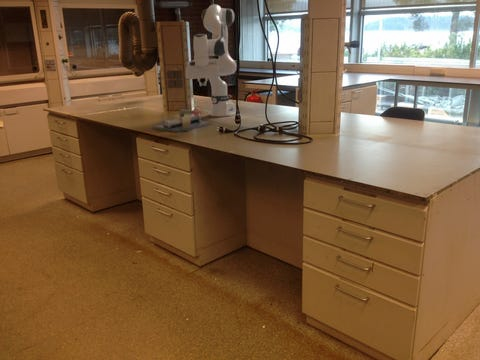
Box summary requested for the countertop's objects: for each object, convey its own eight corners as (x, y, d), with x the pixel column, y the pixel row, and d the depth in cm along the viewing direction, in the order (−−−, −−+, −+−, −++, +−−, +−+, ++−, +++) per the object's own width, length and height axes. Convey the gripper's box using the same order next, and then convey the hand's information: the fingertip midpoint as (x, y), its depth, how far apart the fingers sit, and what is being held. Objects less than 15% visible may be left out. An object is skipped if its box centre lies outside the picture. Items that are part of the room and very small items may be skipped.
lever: (177, 115, 280) (177, 109, 279) (182, 114, 283) (181, 108, 282) (197, 117, 270) (197, 111, 269) (201, 116, 273) (201, 110, 272)
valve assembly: (187, 121, 300) (186, 110, 298) (211, 124, 287) (211, 113, 285) (152, 128, 278) (151, 117, 276) (178, 132, 265) (177, 120, 263)
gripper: (218, 61, 274) (218, 84, 278) (184, 62, 270) (185, 86, 274) (219, 61, 268) (220, 85, 272) (185, 63, 264) (186, 87, 268)
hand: (202, 85), depth 273 cm, fingers closed
